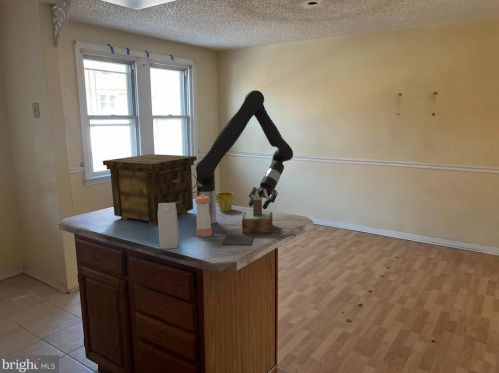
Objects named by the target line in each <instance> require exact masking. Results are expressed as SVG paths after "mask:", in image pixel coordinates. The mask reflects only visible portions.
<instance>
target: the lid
mask: <svg viewBox="0 0 499 373" xmlns="http://www.w3.org/2000/svg"><path fill="white" fill-rule="evenodd" d="M245 212H246V215H245V218H244V219H260V220H270V212H271V211H263V198H255V197H254V198H253V205H252V211H245Z"/></svg>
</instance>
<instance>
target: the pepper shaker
mask: <svg viewBox="0 0 499 373" xmlns="http://www.w3.org/2000/svg"><path fill="white" fill-rule="evenodd" d="M194 202H195V204H196V227H195V228H196V229H195V230H196V231H195V232H196V236H197V237H203V238H205V237H210V236H212V235H213V233H212V232H213V230H212V229H213V228H212V227H213V226H212V224H211V219H210V214H209V203H210V198H209V197H208V196H204V195H203V194H202V195H201V196H198V197H195V200H194Z"/></svg>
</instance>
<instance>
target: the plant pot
mask: <svg viewBox="0 0 499 373" xmlns="http://www.w3.org/2000/svg"><path fill="white" fill-rule="evenodd" d="M215 199H216V201H217V202H218V207H219V210H220V211H221V212H229V211H232V208H233V201H234V200H235V193H234V192H229V191H223V192H218V193H215Z"/></svg>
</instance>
